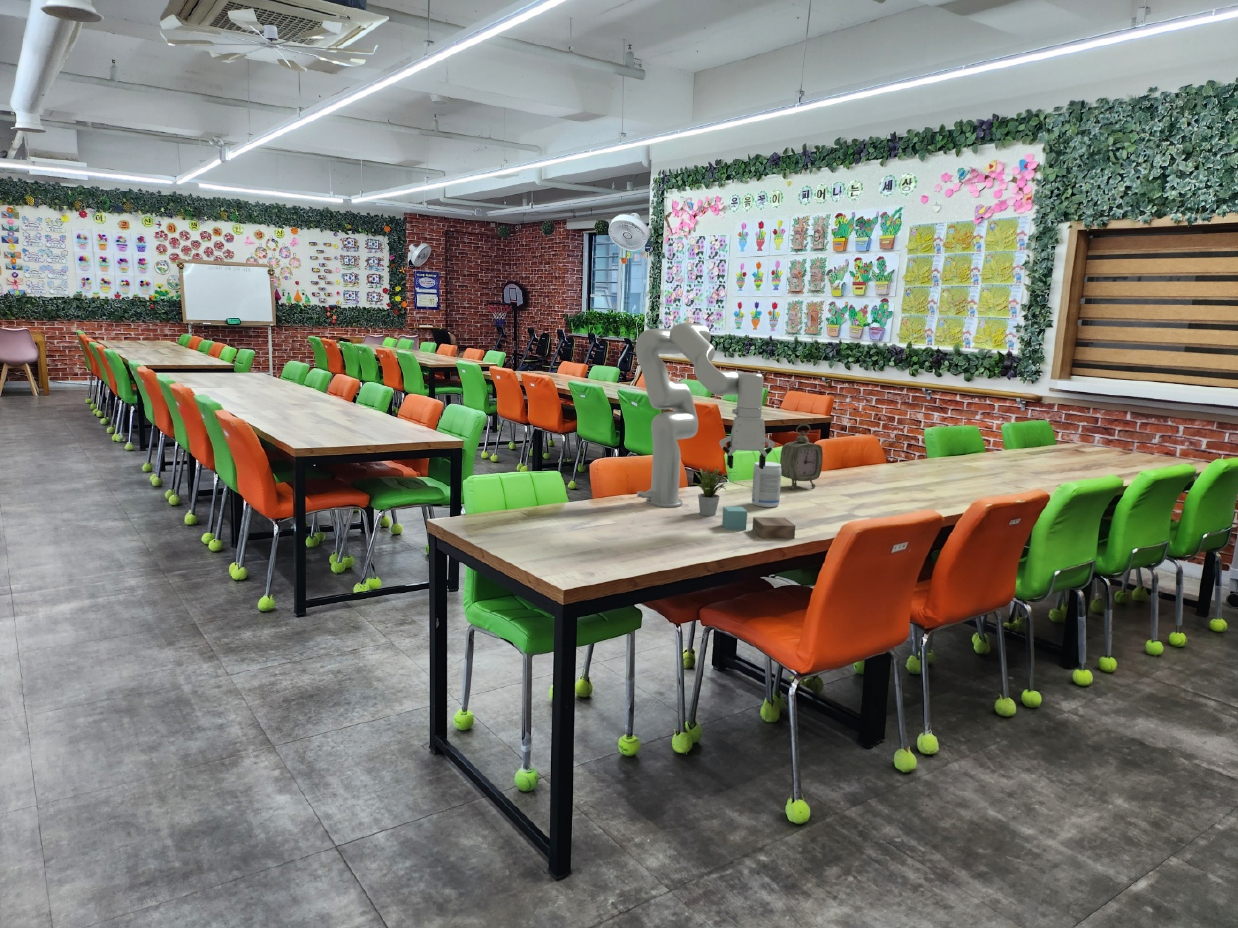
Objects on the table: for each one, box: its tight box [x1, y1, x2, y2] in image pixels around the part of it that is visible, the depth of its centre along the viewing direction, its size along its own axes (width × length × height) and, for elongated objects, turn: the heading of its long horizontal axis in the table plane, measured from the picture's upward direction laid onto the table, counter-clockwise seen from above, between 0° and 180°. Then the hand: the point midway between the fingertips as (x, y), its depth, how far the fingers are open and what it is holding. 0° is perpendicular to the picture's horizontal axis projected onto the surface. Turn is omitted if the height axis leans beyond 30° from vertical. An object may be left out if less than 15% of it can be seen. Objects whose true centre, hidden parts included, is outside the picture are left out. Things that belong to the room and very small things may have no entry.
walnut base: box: [751, 516, 796, 539], centre depth 256 cm, size 10×10×4 cm
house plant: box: [690, 465, 733, 517], centre depth 276 cm, size 14×14×16 cm
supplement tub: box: [751, 461, 782, 508], centre depth 295 cm, size 10×10×15 cm
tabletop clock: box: [779, 423, 824, 490], centre depth 328 cm, size 14×9×25 cm, turn 119°
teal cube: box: [721, 506, 748, 531], centre depth 262 cm, size 6×6×6 cm
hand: (745, 468), depth 263 cm, fingers open, 9 cm apart
